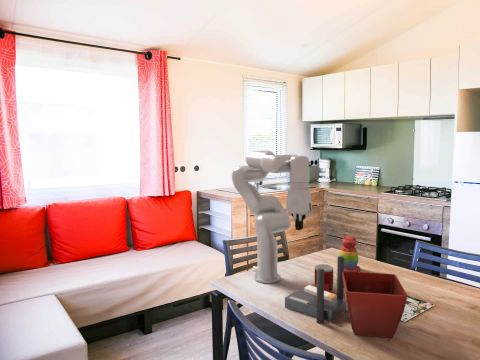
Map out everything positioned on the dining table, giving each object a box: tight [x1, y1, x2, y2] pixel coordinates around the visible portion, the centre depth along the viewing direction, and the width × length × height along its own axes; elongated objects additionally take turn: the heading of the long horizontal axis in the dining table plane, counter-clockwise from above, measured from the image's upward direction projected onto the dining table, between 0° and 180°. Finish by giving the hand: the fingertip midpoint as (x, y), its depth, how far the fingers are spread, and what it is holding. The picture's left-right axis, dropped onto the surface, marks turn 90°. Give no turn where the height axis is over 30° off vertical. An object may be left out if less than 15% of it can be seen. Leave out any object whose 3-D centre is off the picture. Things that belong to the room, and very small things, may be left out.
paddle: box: [303, 284, 337, 302], centre depth 143 cm, size 12×4×1 cm, turn 50°
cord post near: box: [315, 268, 325, 325], centre depth 134 cm, size 3×3×20 cm
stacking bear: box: [338, 235, 361, 272], centre depth 186 cm, size 11×10×18 cm
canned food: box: [313, 263, 334, 293], centre depth 161 cm, size 8×8×11 cm
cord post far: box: [336, 255, 345, 300], centre depth 147 cm, size 3×3×20 cm
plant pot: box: [342, 271, 408, 339], centre depth 130 cm, size 19×19×17 cm
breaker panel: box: [284, 287, 347, 324], centre depth 145 cm, size 20×13×6 cm, turn 50°
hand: (299, 229), depth 154 cm, fingers closed
